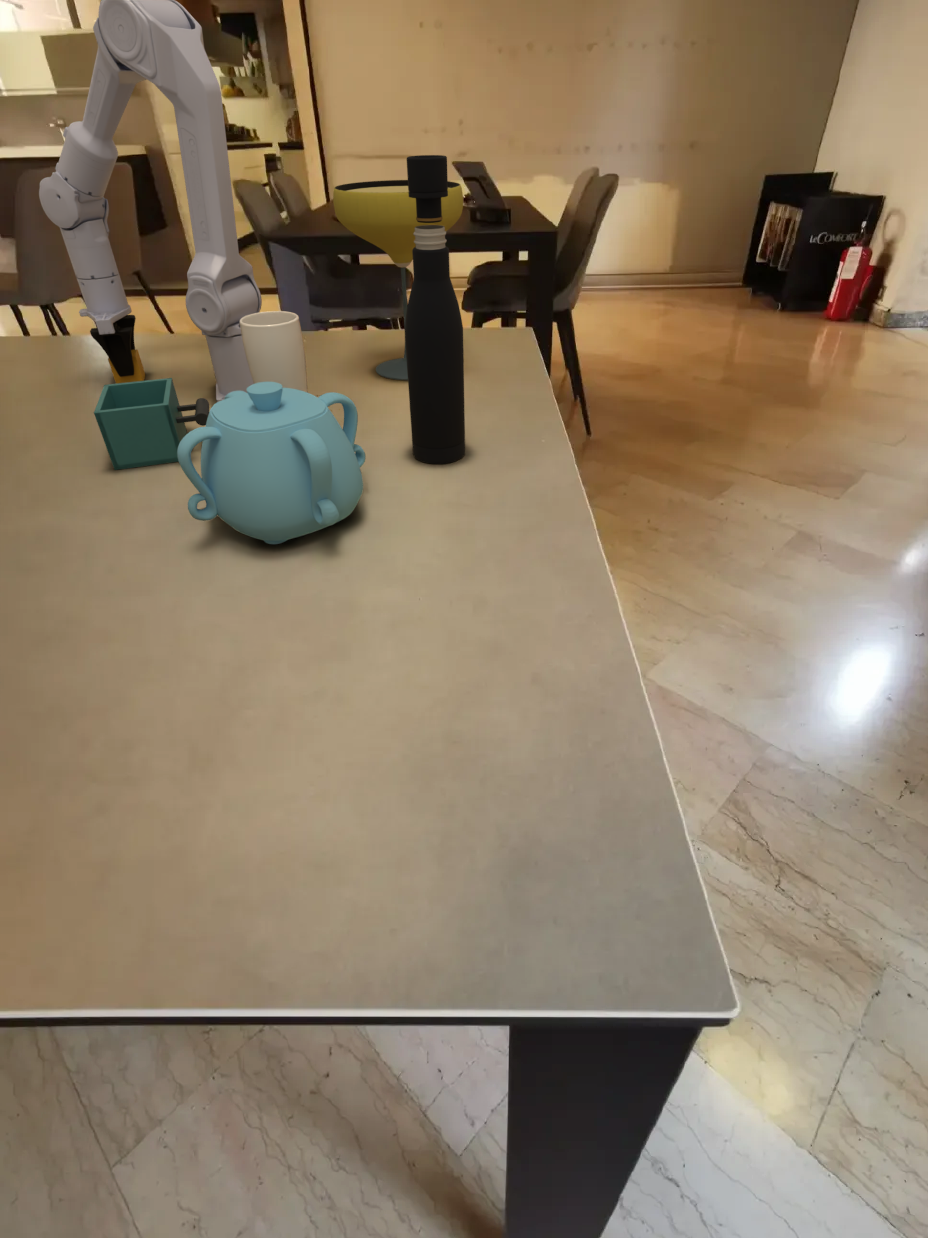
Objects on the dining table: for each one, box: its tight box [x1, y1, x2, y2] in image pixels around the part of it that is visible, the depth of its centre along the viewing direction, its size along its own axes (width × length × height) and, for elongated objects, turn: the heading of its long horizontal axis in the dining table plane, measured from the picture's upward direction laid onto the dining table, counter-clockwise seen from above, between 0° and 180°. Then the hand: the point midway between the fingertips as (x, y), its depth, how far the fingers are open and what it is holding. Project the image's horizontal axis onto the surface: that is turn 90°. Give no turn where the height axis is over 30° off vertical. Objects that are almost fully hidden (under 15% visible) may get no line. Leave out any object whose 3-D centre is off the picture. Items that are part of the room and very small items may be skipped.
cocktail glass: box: [332, 179, 464, 381], centre depth 100 cm, size 18×18×25 cm
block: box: [107, 348, 146, 384], centre depth 105 cm, size 4×4×4 cm
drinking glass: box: [240, 310, 309, 393], centre depth 80 cm, size 7×7×15 cm
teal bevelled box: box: [93, 377, 210, 471], centre depth 82 cm, size 12×10×7 cm
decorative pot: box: [177, 382, 366, 545], centre depth 66 cm, size 16×16×14 cm
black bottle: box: [404, 154, 466, 465], centre depth 73 cm, size 6×6×30 cm
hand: (128, 370), depth 105 cm, fingers closed on block, 4 cm apart
